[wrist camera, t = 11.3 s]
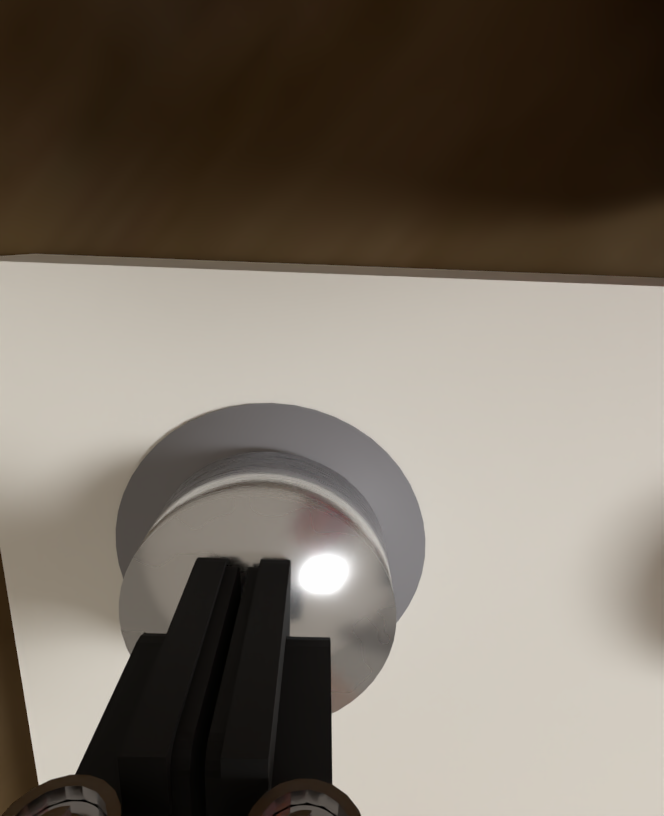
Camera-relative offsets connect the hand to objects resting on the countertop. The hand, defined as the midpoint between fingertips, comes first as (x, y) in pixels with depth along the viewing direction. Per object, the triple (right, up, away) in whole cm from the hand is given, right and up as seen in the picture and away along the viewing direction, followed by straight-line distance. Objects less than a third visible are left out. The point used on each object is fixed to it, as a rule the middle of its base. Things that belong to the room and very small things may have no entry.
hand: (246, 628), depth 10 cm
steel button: (0, +1, +2) cm, 2 cm away
